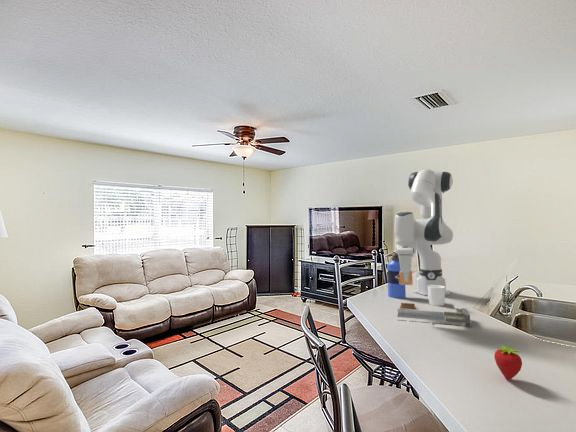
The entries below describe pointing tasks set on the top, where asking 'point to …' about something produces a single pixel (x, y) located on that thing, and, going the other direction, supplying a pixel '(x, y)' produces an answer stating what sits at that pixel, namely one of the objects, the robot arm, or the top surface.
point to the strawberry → (508, 362)
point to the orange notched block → (403, 279)
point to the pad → (408, 306)
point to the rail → (437, 316)
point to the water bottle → (395, 278)
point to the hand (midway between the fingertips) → (406, 280)
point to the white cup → (436, 295)
